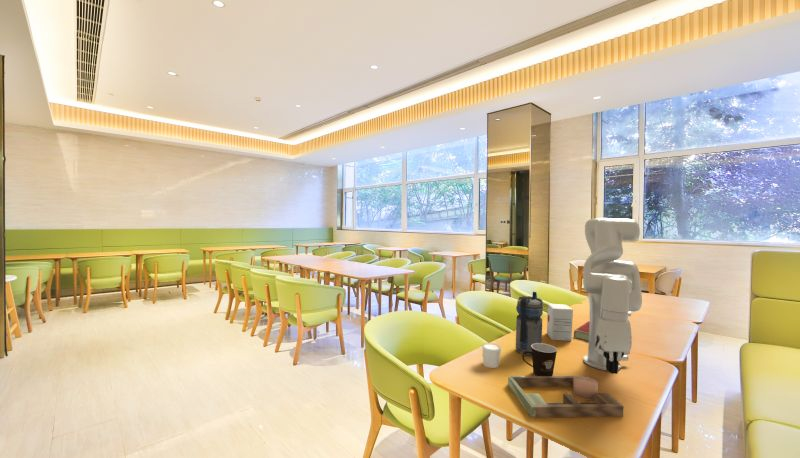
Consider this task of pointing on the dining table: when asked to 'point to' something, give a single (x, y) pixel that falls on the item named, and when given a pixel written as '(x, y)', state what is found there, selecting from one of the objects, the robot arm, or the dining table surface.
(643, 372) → the dining table surface
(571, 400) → the trap lane
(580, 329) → the hardcover book
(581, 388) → the pink rounded dome
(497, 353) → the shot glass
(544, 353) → the coffee mug
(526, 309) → the beverage bottle
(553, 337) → the supplement box
